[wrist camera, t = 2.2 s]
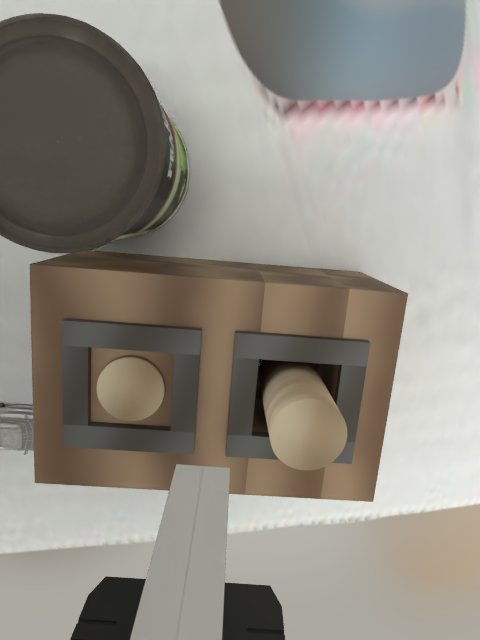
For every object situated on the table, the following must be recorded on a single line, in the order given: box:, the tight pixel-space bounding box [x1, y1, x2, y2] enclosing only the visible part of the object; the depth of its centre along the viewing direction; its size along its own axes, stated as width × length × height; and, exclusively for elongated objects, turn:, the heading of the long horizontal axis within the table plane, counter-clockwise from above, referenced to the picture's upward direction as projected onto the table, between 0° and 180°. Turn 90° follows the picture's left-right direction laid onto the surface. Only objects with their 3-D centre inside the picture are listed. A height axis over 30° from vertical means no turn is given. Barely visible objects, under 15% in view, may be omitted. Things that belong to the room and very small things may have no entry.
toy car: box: [0, 403, 34, 455], centre depth 38 cm, size 4×8×3 cm, turn 84°
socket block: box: [30, 250, 408, 502], centre depth 33 cm, size 22×14×11 cm, turn 85°
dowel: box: [258, 360, 347, 470], centre depth 28 cm, size 4×4×9 cm
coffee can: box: [0, 13, 190, 253], centre depth 28 cm, size 10×10×14 cm
